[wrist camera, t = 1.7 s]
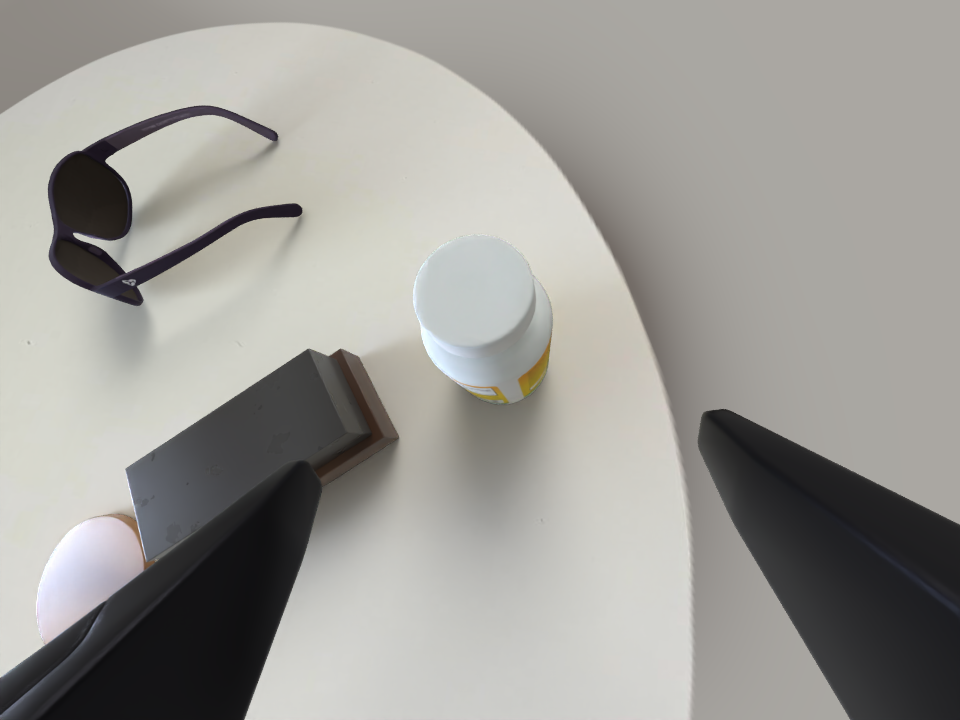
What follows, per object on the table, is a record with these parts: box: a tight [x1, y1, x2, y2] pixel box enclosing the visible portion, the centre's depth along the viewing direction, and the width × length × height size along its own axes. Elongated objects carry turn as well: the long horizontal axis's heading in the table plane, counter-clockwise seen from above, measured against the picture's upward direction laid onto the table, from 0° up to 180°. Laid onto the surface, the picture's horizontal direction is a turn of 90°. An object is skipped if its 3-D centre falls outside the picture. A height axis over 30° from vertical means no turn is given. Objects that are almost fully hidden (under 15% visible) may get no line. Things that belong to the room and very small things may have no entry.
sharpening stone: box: [125, 349, 399, 562], centre depth 19 cm, size 13×6×4 cm, turn 121°
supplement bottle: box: [413, 234, 553, 404], centre depth 15 cm, size 5×5×10 cm
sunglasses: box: [48, 106, 302, 306], centre depth 25 cm, size 14×16×5 cm
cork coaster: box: [37, 514, 155, 645], centre depth 21 cm, size 8×8×1 cm
